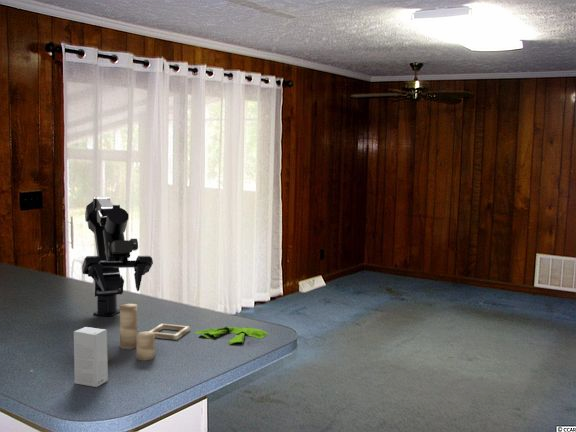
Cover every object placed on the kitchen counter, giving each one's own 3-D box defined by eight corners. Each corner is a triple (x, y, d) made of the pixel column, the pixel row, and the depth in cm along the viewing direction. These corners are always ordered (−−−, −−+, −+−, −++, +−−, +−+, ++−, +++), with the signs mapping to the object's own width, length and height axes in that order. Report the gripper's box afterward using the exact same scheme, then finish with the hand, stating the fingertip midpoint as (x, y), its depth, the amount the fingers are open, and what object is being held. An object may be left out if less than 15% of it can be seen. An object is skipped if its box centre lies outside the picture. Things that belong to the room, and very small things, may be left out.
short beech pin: (141, 353, 150) (141, 330, 149) (157, 355, 148) (157, 332, 148) (133, 359, 145) (133, 336, 145) (149, 361, 144) (149, 337, 144)
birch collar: (161, 327, 172) (161, 323, 171) (189, 330, 169) (190, 326, 169) (147, 336, 163) (147, 332, 163) (176, 339, 161) (176, 335, 161)
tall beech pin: (125, 342, 157) (125, 303, 156) (140, 344, 156) (140, 304, 155) (116, 348, 153) (116, 307, 152) (132, 349, 152) (131, 308, 151)
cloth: (278, 335, 170) (278, 327, 169) (236, 357, 150) (236, 348, 150) (220, 323, 179) (221, 315, 179) (174, 342, 160) (174, 334, 160)
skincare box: (108, 380, 131) (108, 329, 130) (96, 387, 127) (95, 334, 126) (86, 376, 133) (85, 326, 132) (73, 383, 129) (72, 331, 128)
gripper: (86, 227, 159) (92, 277, 151) (153, 228, 168) (162, 275, 160) (79, 249, 166) (84, 297, 158) (143, 249, 176) (151, 295, 168)
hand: (121, 291), depth 161 cm, fingers open, 9 cm apart
